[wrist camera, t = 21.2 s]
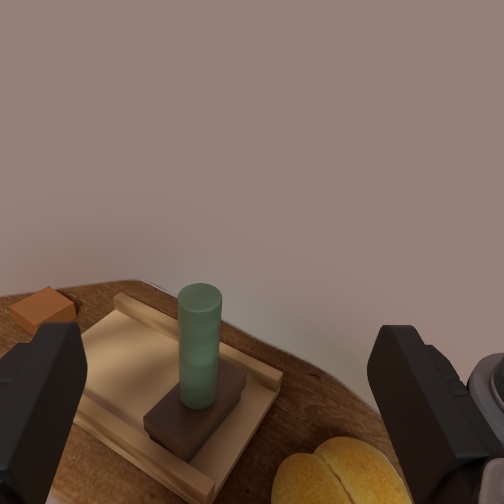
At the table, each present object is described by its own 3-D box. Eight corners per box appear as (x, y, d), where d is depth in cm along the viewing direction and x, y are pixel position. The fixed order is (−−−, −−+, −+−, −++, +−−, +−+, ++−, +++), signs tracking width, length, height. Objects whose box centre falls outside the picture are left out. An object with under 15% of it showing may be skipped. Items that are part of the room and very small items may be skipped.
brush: (244, 399, 31) (258, 279, 24) (183, 474, 26) (180, 347, 19) (209, 377, 32) (213, 258, 26) (145, 443, 27) (130, 316, 21)
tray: (279, 392, 33) (283, 372, 32) (205, 515, 25) (206, 496, 23) (122, 311, 40) (120, 291, 38) (23, 387, 31) (15, 365, 30)
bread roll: (250, 481, 27) (255, 450, 24) (355, 438, 30) (368, 407, 28) (311, 633, 20) (325, 608, 18) (434, 558, 24) (459, 529, 22)
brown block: (77, 317, 38) (73, 302, 37) (39, 341, 35) (34, 325, 34) (52, 301, 40) (48, 285, 39) (14, 322, 37) (9, 306, 36)
